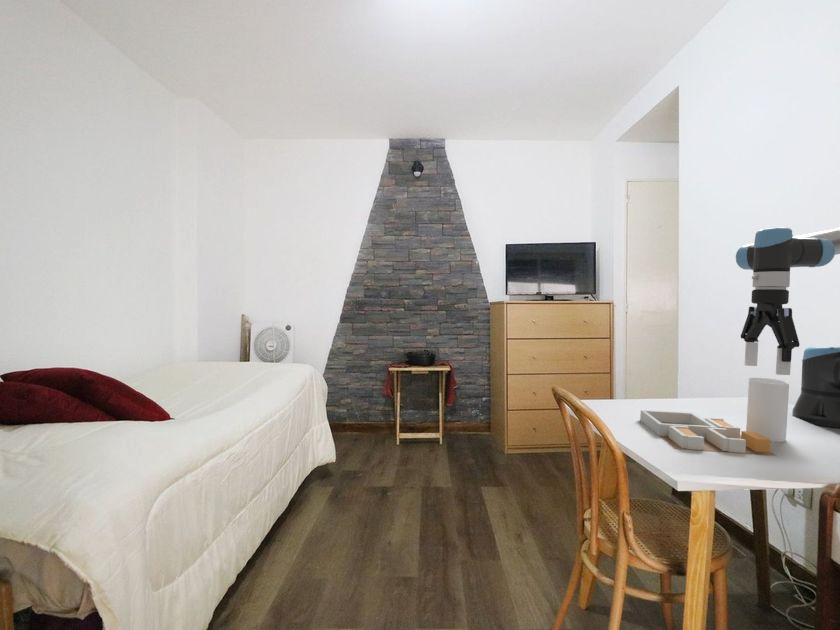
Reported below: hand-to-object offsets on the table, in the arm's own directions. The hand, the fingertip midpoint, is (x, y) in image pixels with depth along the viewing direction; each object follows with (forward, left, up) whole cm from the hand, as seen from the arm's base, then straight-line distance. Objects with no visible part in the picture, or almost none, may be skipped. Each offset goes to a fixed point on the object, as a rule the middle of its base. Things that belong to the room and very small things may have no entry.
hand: (765, 370), depth 114 cm
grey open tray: (+13, +10, -18) cm, 24 cm away
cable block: (+7, +10, -18) cm, 22 cm away
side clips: (+17, +5, -17) cm, 25 cm away
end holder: (+20, -2, -18) cm, 27 cm away
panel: (+16, +3, -19) cm, 25 cm away
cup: (-1, 0, -19) cm, 19 cm away
